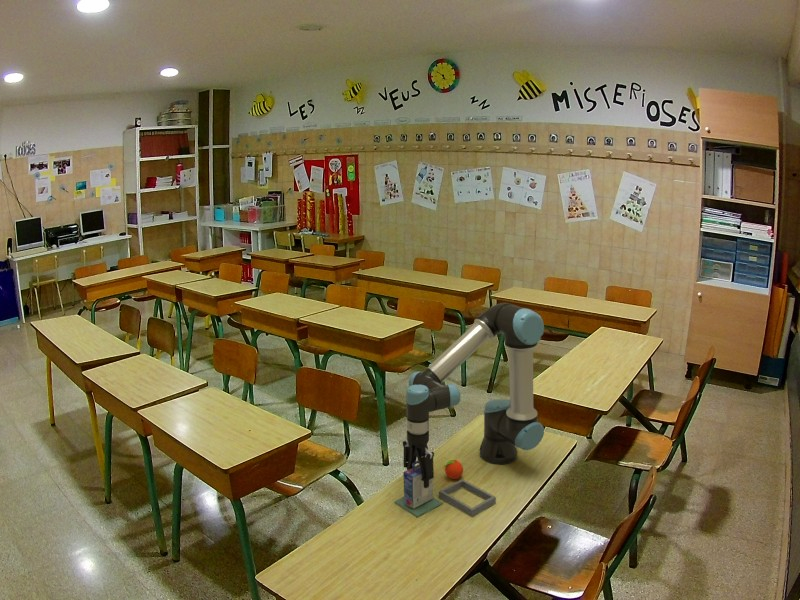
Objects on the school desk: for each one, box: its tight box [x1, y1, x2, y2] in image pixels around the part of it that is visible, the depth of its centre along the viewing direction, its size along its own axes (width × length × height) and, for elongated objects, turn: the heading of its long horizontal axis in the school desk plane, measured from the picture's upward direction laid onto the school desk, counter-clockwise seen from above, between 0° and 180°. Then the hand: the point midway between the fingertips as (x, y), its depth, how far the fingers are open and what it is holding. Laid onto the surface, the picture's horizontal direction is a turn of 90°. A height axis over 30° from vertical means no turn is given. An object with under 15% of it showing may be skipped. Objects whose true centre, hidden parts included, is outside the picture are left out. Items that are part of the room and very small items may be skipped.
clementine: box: [442, 459, 464, 480], centre depth 230 cm, size 8×7×7 cm
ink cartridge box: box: [402, 460, 434, 509], centre depth 212 cm, size 10×6×14 cm, turn 131°
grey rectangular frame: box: [438, 478, 497, 518], centre depth 216 cm, size 12×16×2 cm
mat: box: [394, 496, 444, 518], centre depth 214 cm, size 12×12×1 cm
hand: (418, 491), depth 213 cm, fingers open, 5 cm apart
